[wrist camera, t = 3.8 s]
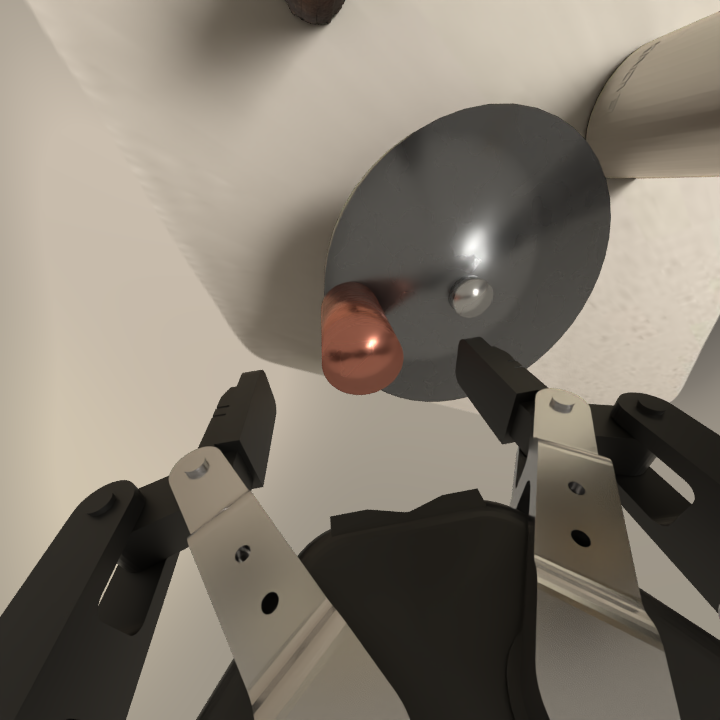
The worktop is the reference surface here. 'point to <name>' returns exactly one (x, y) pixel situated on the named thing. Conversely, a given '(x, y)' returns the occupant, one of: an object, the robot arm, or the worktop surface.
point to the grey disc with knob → (462, 250)
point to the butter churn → (315, 9)
